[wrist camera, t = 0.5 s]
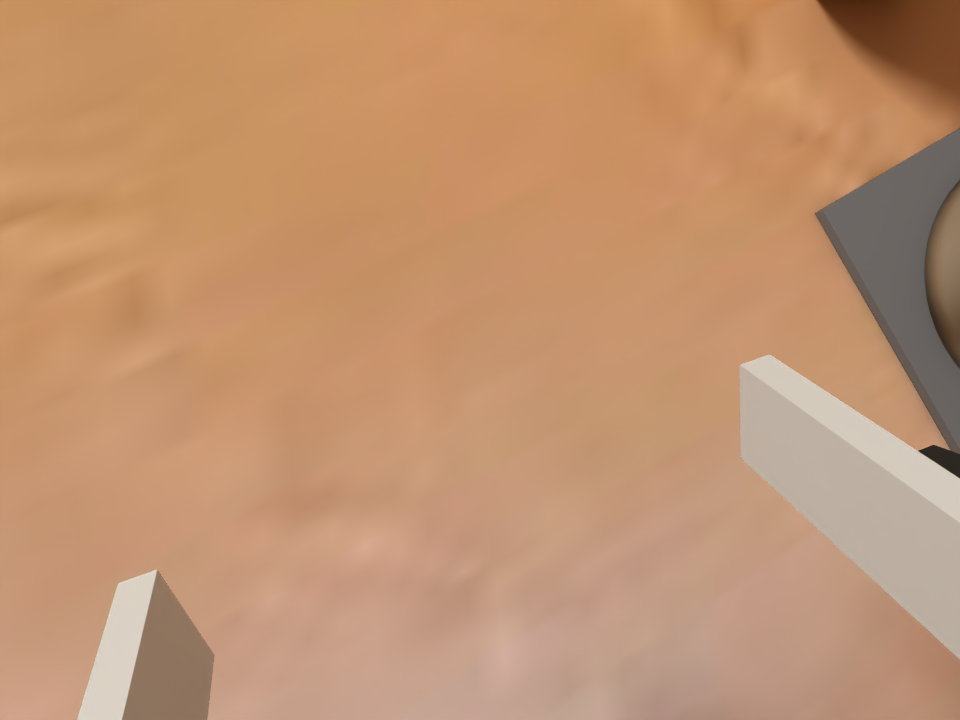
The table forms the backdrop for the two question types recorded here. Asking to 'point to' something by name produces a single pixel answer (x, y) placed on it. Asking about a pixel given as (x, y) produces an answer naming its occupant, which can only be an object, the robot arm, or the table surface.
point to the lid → (945, 273)
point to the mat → (903, 267)
